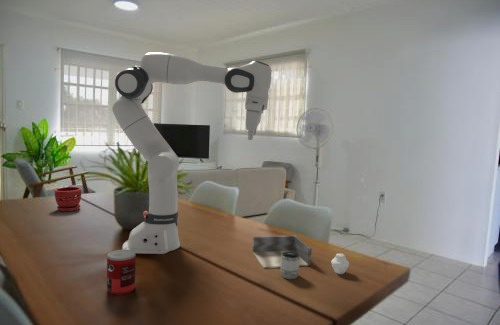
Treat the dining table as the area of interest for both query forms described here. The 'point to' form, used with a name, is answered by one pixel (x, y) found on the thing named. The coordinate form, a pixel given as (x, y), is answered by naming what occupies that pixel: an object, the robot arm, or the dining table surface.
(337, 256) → the white rounded ceramic piece
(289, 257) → the camera lens
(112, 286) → the canned food
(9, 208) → the dining table surface
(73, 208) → the plant pot
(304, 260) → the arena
